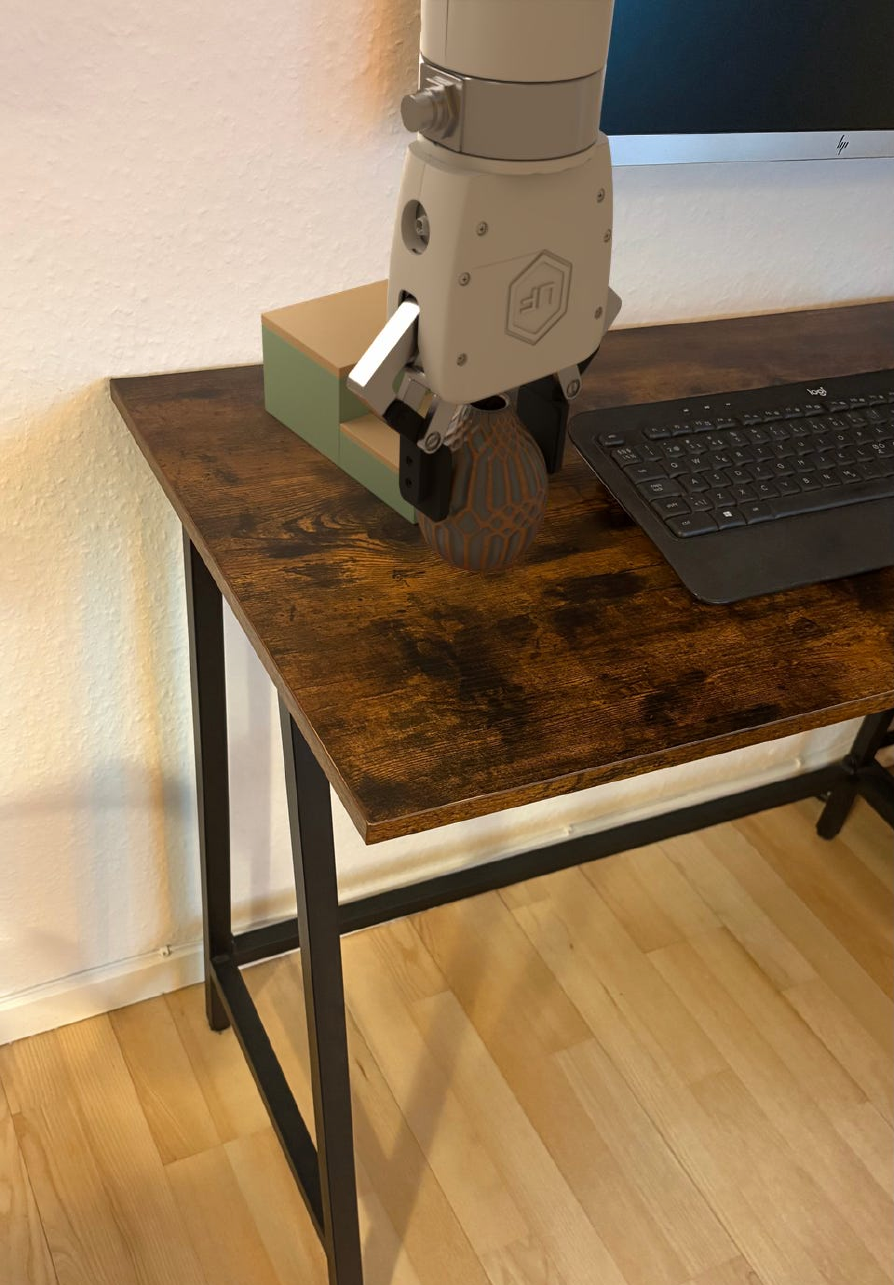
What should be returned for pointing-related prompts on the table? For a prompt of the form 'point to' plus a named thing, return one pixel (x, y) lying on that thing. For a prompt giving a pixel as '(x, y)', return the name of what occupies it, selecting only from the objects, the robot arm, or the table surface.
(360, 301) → the two-step display riser
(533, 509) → the vase
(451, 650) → the table surface
